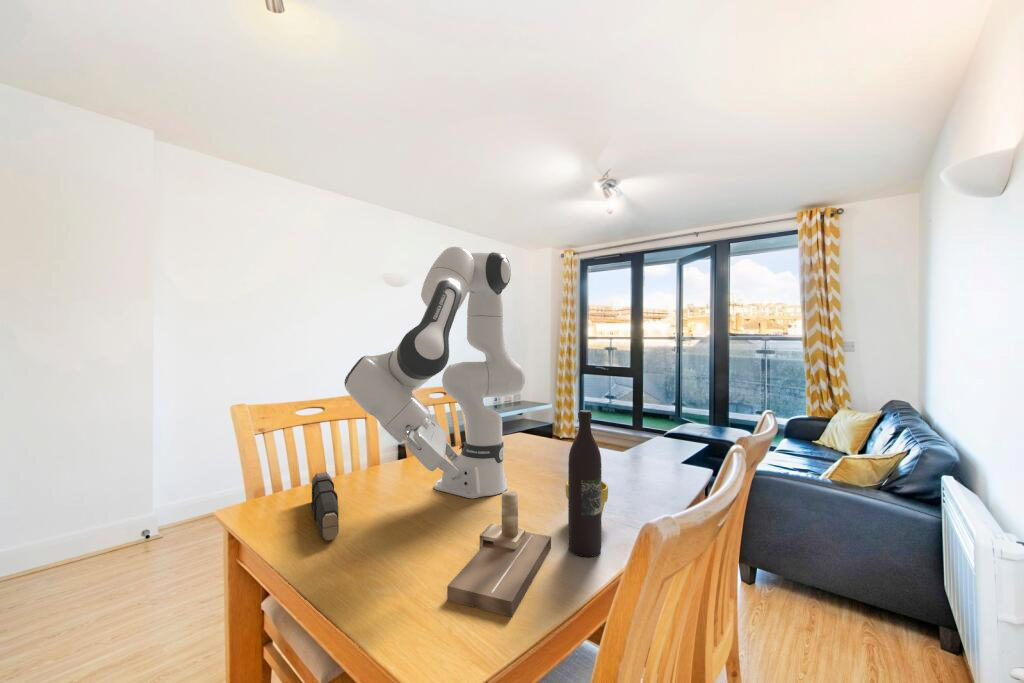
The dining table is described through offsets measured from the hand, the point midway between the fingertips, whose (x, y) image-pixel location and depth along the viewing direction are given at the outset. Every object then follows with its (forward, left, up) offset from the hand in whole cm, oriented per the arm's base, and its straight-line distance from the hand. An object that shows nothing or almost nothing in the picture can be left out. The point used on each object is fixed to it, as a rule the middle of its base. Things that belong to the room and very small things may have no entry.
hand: (456, 466), depth 86 cm
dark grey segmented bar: (-39, +3, -19) cm, 43 cm away
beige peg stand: (+9, +5, -18) cm, 21 cm away
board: (+12, -2, -19) cm, 22 cm away
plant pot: (+23, +25, -19) cm, 39 cm away
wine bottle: (+25, +12, -19) cm, 33 cm away
